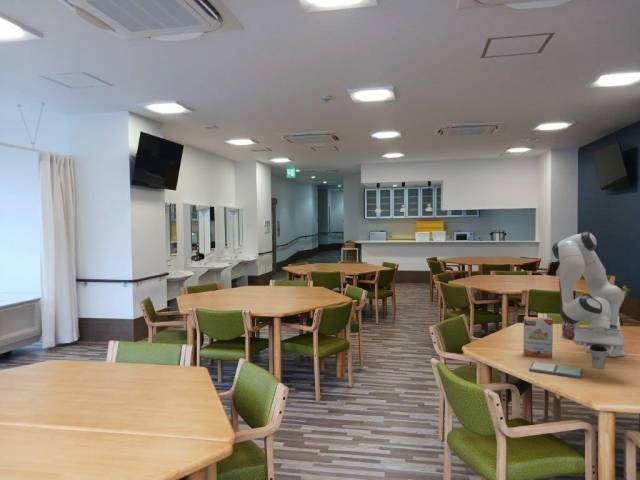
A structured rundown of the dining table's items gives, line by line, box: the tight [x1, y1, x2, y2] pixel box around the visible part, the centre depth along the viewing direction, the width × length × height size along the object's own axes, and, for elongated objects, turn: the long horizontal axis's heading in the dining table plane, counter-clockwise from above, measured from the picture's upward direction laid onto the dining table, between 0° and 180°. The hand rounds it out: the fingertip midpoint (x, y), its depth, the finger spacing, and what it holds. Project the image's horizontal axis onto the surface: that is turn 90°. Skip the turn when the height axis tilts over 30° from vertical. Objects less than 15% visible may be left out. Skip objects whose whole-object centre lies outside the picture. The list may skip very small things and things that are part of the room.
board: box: [528, 361, 584, 379], centre depth 220 cm, size 14×22×1 cm, turn 57°
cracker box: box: [523, 316, 554, 359], centre depth 246 cm, size 14×6×21 cm, turn 71°
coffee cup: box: [589, 345, 607, 370], centre depth 208 cm, size 7×7×10 cm
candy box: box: [561, 318, 580, 341], centre depth 283 cm, size 9×4×15 cm, turn 23°
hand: (598, 353), depth 208 cm, fingers closed on coffee cup, 7 cm apart
